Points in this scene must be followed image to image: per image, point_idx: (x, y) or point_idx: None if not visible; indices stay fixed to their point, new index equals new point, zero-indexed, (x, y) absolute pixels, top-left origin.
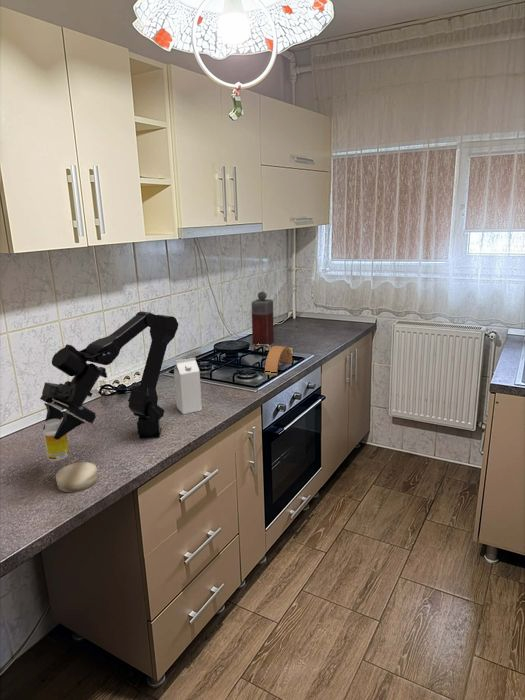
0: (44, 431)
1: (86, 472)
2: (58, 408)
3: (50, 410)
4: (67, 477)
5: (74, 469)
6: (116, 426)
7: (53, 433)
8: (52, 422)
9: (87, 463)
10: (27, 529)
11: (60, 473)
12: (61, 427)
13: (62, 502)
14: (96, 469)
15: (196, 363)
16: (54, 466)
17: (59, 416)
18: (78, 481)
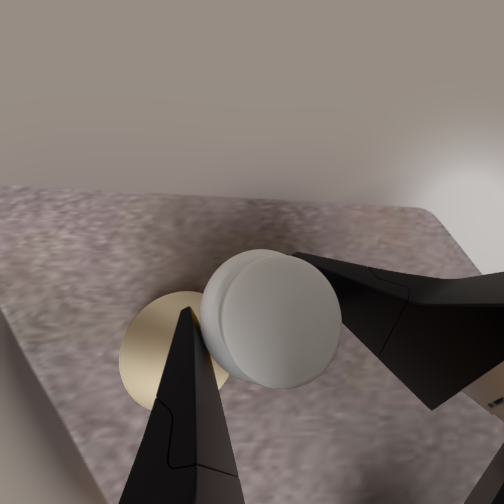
0: (249, 256)
1: (159, 379)
2: (493, 386)
3: (448, 310)
4: (160, 321)
5: None
6: (444, 449)
7: (202, 307)
8: (270, 314)
9: (217, 382)
10: (28, 224)
11: (195, 302)
12: (156, 394)
13: (102, 300)
14: None
15: None
16: None
17: (396, 359)
18: (121, 352)
